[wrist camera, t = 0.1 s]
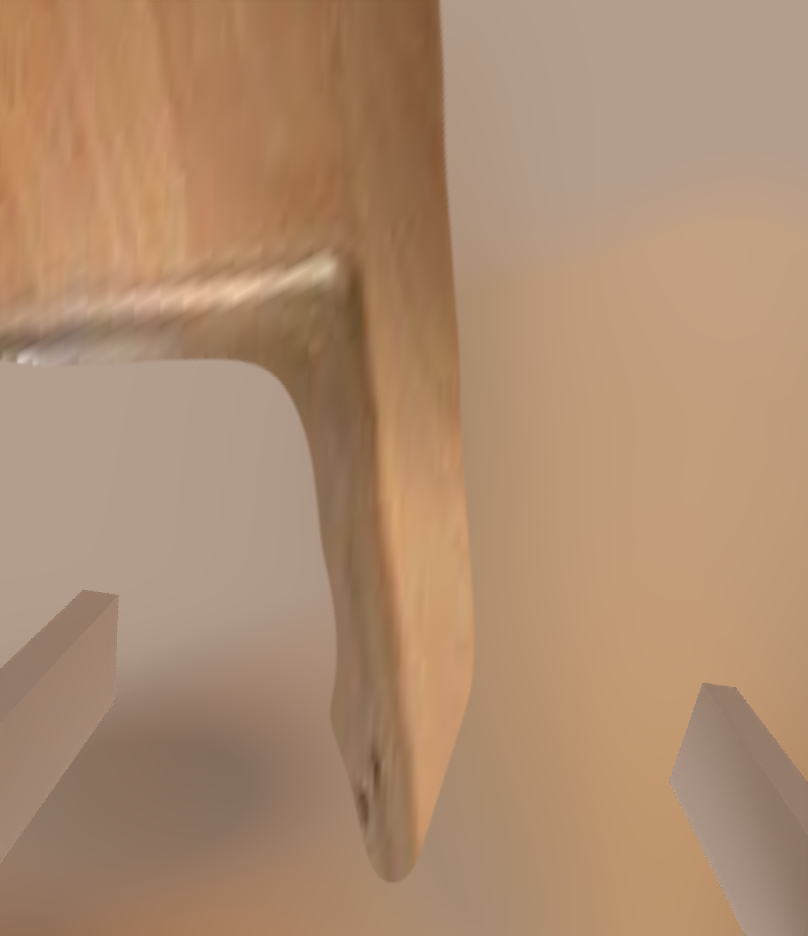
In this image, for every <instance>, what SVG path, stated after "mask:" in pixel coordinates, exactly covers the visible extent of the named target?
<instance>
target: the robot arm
mask: <svg viewBox="0 0 808 936" xmlns="http://www.w3.org/2000/svg"><path fill="white" fill-rule="evenodd" d="M117 620H118V595H114V594H108V593H101V592H94V591H87V590H83V591H82V592H81V593H80V594H79V595H78V596H76V598H74V599H73V600H72V601H71V602H70V603H69V604H68V605H67V606H66V607H65V608H64V609H63V610H62V611H61V612H60V613H59V614H58V615H56V616H55V618H53V619H52V620H51V621H50V622H49V623H48V624H47V625H46V626H45V627H44V628H43V629H42V630H41V631H40V632H39V633H38V634H37V635H35V637H33V638H32V639H31V640H30V641H29V642H28V643H27V644H26V645H25V646H24V647H23V648H22V649H21V650H20V651H19V652H18V653H17V654H16V655H14V656H13V657H12V658H11V659H10V660H9V661H8V662H7V663H6V664H5V665H4V666H3V667H2V668H1V669H0V863H1V862H2V860H3V859H4V857H5V856H6V855H7V853H8V852H9V850H10V849H11V847H12V846H13V845H14V843H15V842H16V840H17V839H18V837H19V836H20V834H21V833H22V832H23V830H24V829H25V828H26V826H27V825H28V823H29V822H30V820H31V819H32V818H33V816H34V815H35V813H36V812H37V811H38V809H39V808H40V806H41V805H42V804H43V802H44V801H45V799H46V797H47V796H48V795H49V793H50V792H51V791H52V789H53V788H54V787H55V785H56V784H57V782H58V781H59V779H60V778H61V777H62V775H63V774H64V772H65V771H66V769H67V768H68V767H69V765H70V764H71V762H72V761H73V760H74V758H75V757H76V755H77V754H78V752H79V751H80V750H81V748H82V747H83V745H84V744H85V743H86V741H87V740H88V738H89V737H90V735H91V734H92V733H93V731H94V730H95V728H96V727H97V726H98V724H99V723H100V721H101V720H102V718H103V717H104V716H105V714H106V713H107V711H108V710H109V708H110V707H111V706H112V704H113V703H114V701H115V679H116V678H115V676H116V650H117ZM669 783H670V785H671V786H672V789H673V791H674V793H675V795H676V797H677V799H678V801H679V803H680V805H681V807H682V809H683V811H684V813H685V815H686V817H687V819H688V821H689V823H690V825H691V827H692V829H693V831H694V833H695V835H696V837H697V839H698V841H699V843H700V845H701V847H702V849H703V852H704V853H705V856H706V858H707V860H708V862H709V864H710V865H711V868H712V870H713V872H714V874H715V876H716V878H717V880H718V882H719V884H720V886H721V888H722V890H723V892H724V894H725V896H726V898H727V900H728V902H729V904H730V906H731V908H732V910H733V912H734V914H735V916H736V918H737V920H738V922H739V924H740V926H741V928H742V930H743V932H744V935H745V936H808V781H807V780H806V779H805V778H804V776H803V775H802V773H801V772H800V771H799V770H798V768H797V767H796V766H795V764H794V763H793V762H792V760H791V759H790V758H789V756H788V755H787V754H786V753H785V751H784V750H783V749H782V747H781V746H780V745H779V743H778V742H777V741H776V740H775V738H774V737H773V736H772V734H771V733H770V732H769V730H768V729H767V728H766V726H765V725H764V724H763V723H762V721H761V720H760V719H759V717H758V716H757V715H756V714H755V712H754V711H753V710H752V708H751V707H750V706H749V704H748V703H747V702H746V700H745V699H744V698H743V696H742V695H741V694H740V692H739V691H738V690H737V689H736V688H734V687H728V686H721V685H714V684H708V683H702V686H701V689H700V692H699V695H698V698H697V701H696V704H695V707H694V710H693V713H692V716H691V719H690V722H689V725H688V728H687V731H686V734H685V736H684V739H683V743H682V745H681V748H680V752H679V754H678V758H677V760H676V763H675V766H674V769H673V772H672V775H671V778H670V781H669Z"/></svg>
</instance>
